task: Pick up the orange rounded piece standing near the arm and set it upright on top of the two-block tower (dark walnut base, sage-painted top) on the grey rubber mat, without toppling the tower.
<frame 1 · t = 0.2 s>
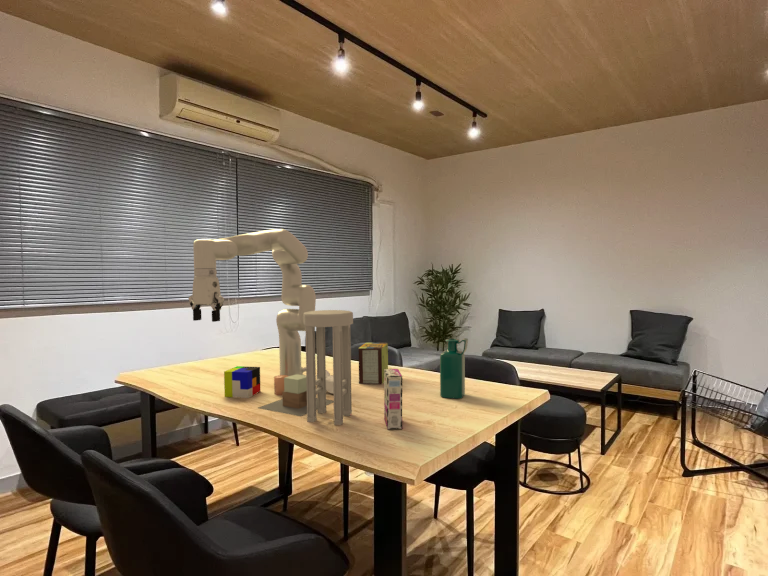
hand: (206, 320, 167), 31 cm above the table, fingers open, 9 cm apart
tower base: (297, 404, 166), resting on rubber mat, touching tower top
orange rounded piece: (281, 394, 182), on the table
puzzle toy: (242, 394, 183), on the table
white piece: (332, 393, 183), on the table
tower top: (297, 390, 166), point 5 cm above the table, touching tower base
candy bar box: (393, 424, 145), on the table
rubber mat: (297, 405, 166), on the table
stool: (330, 418, 151), on the table
pitcher: (454, 396, 176), on the table
protein box: (373, 380, 203), on the table
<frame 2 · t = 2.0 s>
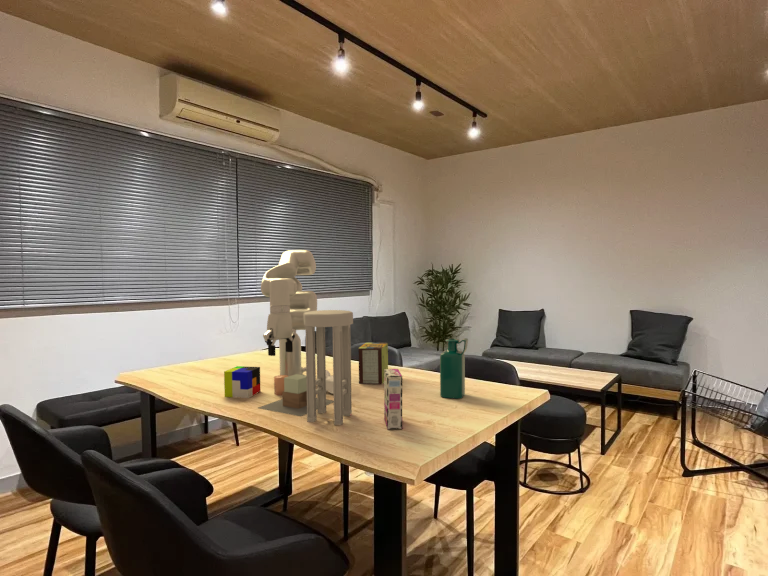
hand: (280, 353, 181), 16 cm above the table, fingers open, 9 cm apart
nothing on the table moved.
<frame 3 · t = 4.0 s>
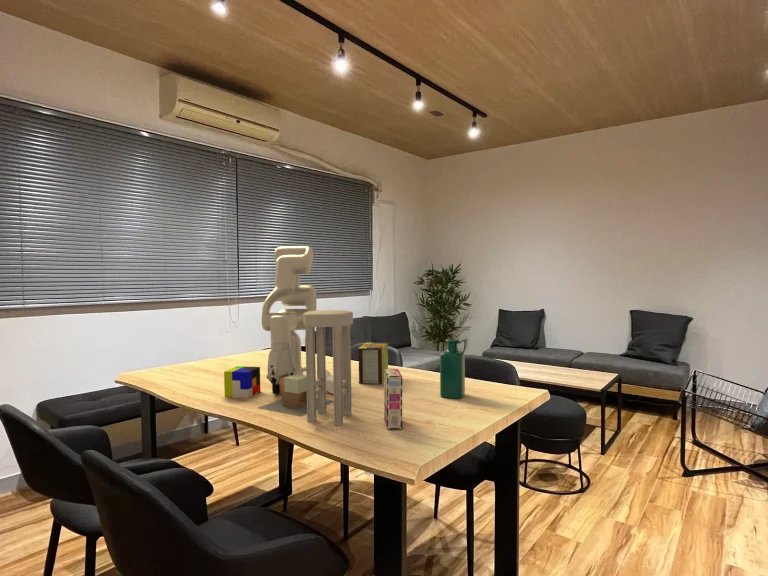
hand: (281, 391, 182), 1 cm above the table, fingers closed on orange rounded piece, 5 cm apart
orange rounded piece: (281, 394, 182), on the table, touching gripper
everything else where it was.
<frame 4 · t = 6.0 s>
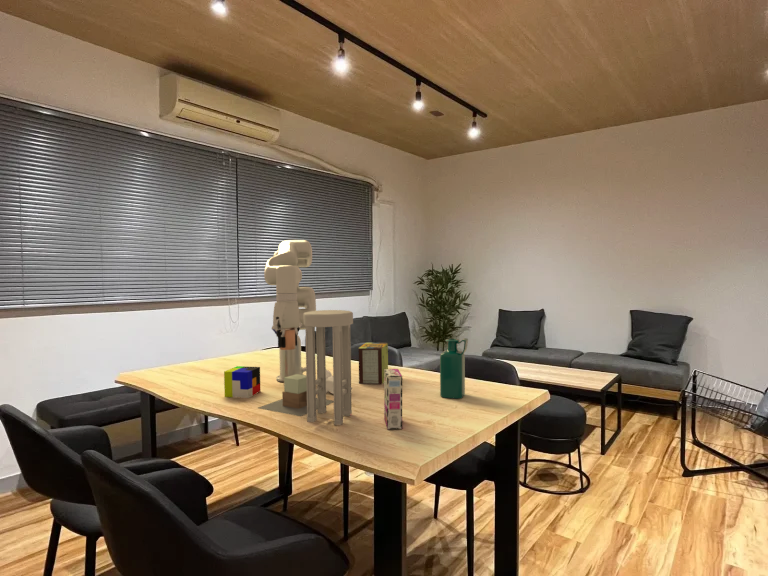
hand: (287, 346, 173), 20 cm above the table, fingers closed on orange rounded piece, 5 cm apart
orange rounded piece: (287, 348, 173), point 19 cm above the table, touching gripper
everything else where it was.
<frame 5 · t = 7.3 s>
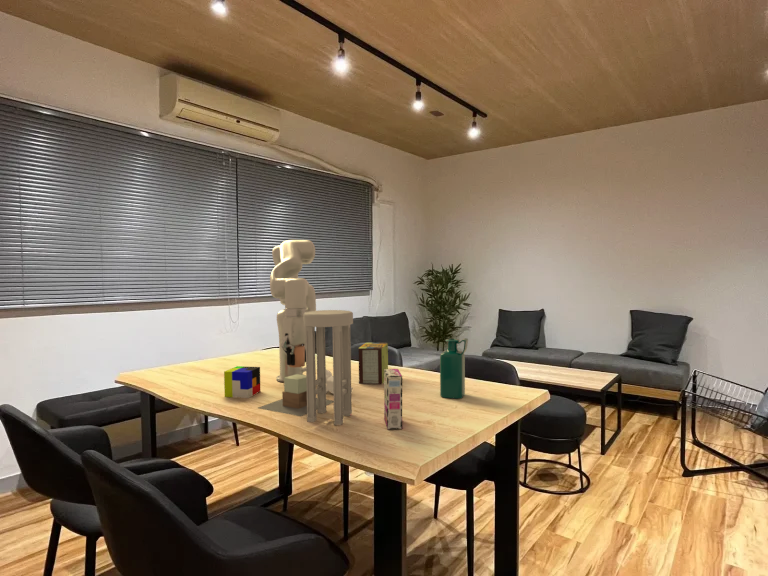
hand: (296, 363, 165), 15 cm above the table, fingers closed on orange rounded piece, 5 cm apart
orange rounded piece: (296, 365, 165), point 14 cm above the table, touching gripper
everything else where it was.
when the fingers open (12 cm above the table, at t = 8.2 s): orange rounded piece stays where it is, resting on tower top.
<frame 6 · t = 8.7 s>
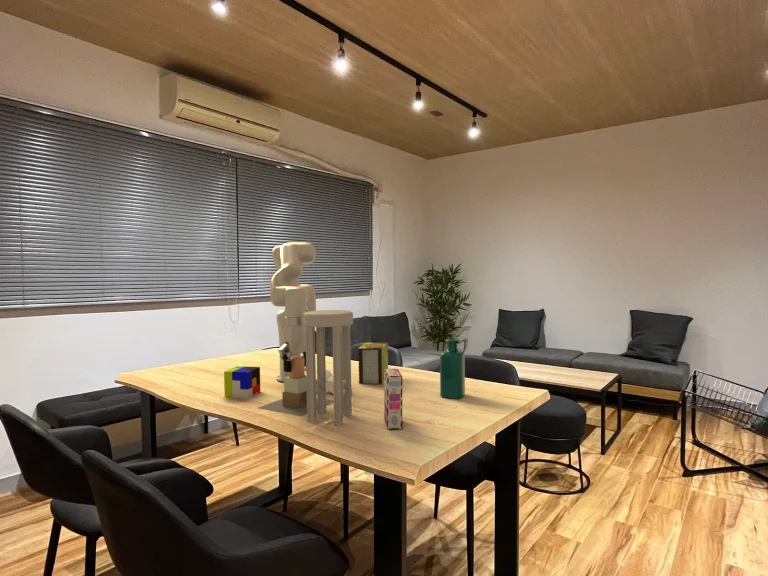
hand: (297, 369, 165), 13 cm above the table, fingers open, 9 cm apart
orange rounded piece: (296, 376, 165), point 10 cm above the table, touching tower top
tower top: (297, 390, 166), point 5 cm above the table, touching orange rounded piece, tower base
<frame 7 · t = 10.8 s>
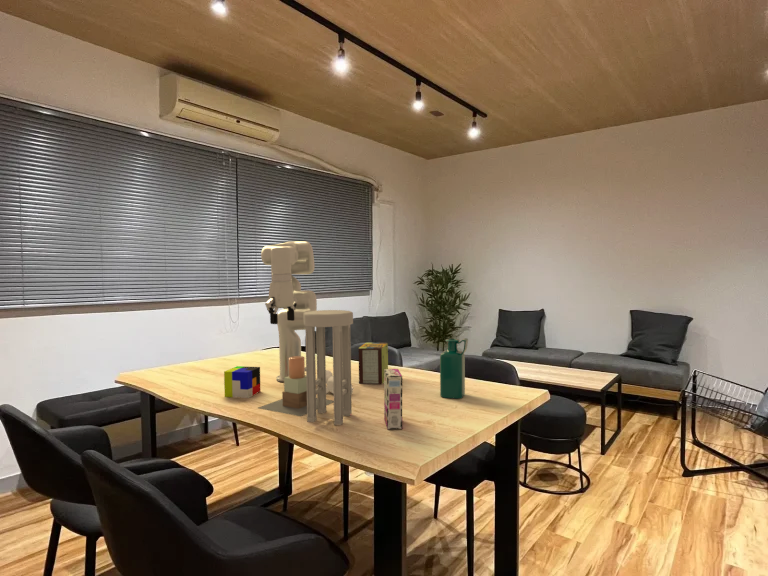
hand: (282, 322, 180), 29 cm above the table, fingers open, 9 cm apart
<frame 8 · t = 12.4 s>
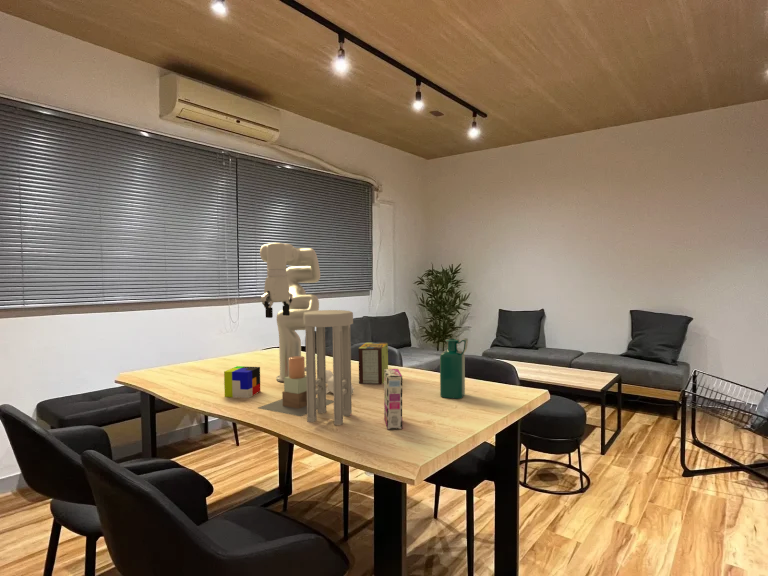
hand: (277, 316, 185), 30 cm above the table, fingers open, 9 cm apart
at the end: orange rounded piece 0.1 cm off-centre on the tower base, point 10.0 cm above the tower base's base; orange rounded piece tilted 0°; tower top moved 0.0 cm from its start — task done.
